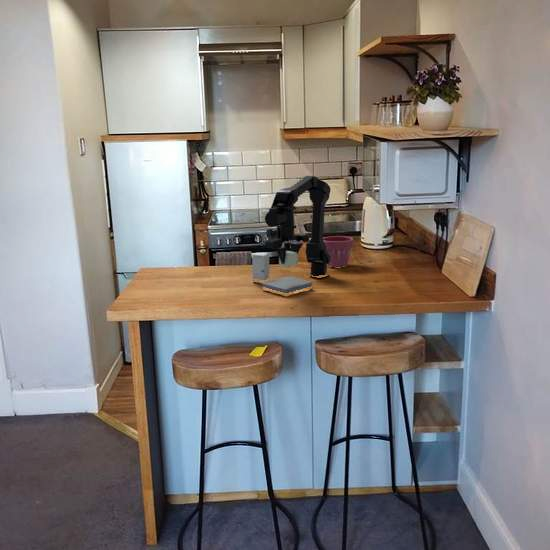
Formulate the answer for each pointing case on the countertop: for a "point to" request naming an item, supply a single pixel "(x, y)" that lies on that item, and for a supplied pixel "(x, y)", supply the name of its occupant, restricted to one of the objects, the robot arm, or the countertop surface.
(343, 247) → the plant pot
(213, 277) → the countertop surface
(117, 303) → the countertop surface
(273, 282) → the base
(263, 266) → the skincare box
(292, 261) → the green cube
